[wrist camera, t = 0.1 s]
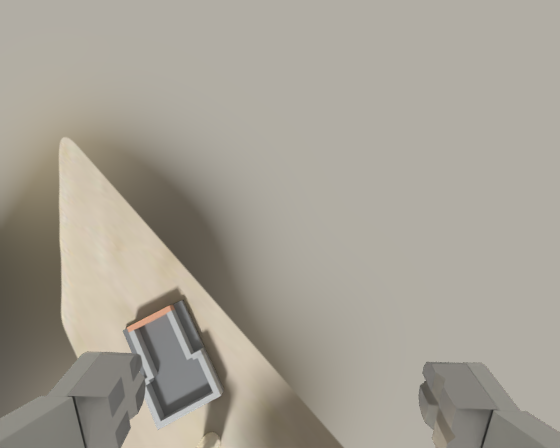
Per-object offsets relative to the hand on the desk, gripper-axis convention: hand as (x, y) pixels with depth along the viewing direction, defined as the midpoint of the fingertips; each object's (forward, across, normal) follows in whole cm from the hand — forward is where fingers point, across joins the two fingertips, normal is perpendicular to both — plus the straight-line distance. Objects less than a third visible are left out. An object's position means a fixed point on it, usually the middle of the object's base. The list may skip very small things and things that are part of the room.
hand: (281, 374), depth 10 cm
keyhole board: (+42, -20, -37) cm, 59 cm away
